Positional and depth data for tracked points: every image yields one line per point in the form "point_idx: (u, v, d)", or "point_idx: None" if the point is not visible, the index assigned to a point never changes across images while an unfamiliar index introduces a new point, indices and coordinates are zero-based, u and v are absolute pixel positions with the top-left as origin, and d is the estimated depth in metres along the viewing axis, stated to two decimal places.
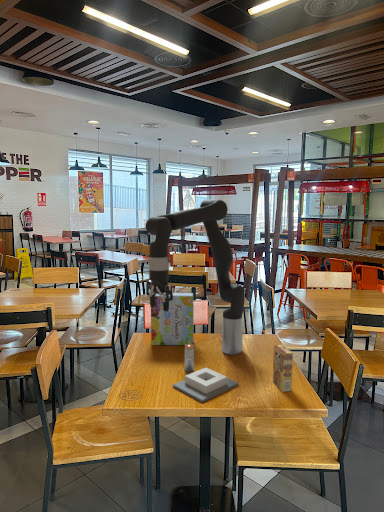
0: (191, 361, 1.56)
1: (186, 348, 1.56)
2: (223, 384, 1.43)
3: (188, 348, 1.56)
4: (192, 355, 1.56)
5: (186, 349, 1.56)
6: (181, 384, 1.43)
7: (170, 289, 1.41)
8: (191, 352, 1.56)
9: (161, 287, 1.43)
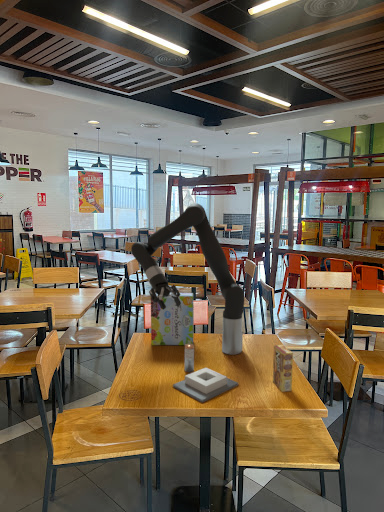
0: (191, 361, 1.56)
1: (186, 348, 1.56)
2: (223, 384, 1.43)
3: (188, 348, 1.56)
4: (192, 355, 1.56)
5: (186, 349, 1.56)
6: (181, 384, 1.43)
7: (151, 292, 1.63)
8: (191, 352, 1.56)
9: None
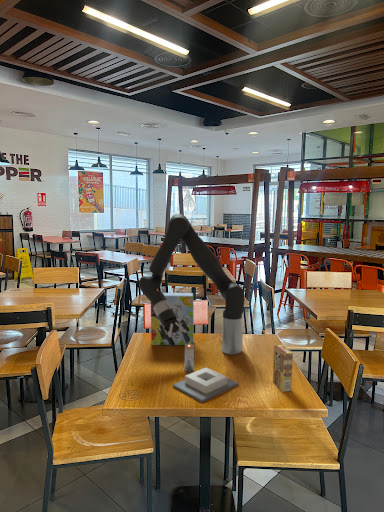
0: (191, 361, 1.56)
1: (186, 348, 1.56)
2: (223, 384, 1.43)
3: (188, 348, 1.56)
4: (192, 355, 1.56)
5: (186, 349, 1.56)
6: (181, 384, 1.43)
7: (160, 329, 1.60)
8: (191, 352, 1.56)
9: None
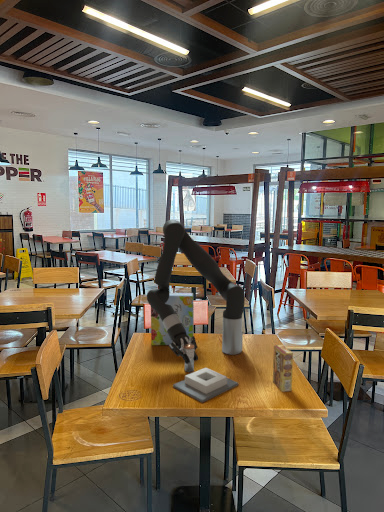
0: (191, 361, 1.56)
1: (186, 348, 1.56)
2: (223, 384, 1.43)
3: (188, 348, 1.56)
4: (192, 355, 1.56)
5: (186, 349, 1.56)
6: (181, 384, 1.43)
7: (172, 347, 1.56)
8: (191, 352, 1.56)
9: None
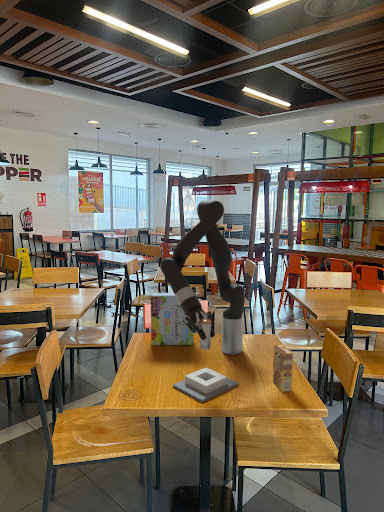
0: (208, 337, 1.41)
1: (202, 323, 1.40)
2: (223, 384, 1.43)
3: (204, 323, 1.40)
4: (209, 331, 1.41)
5: (202, 324, 1.40)
6: (181, 384, 1.43)
7: (186, 321, 1.40)
8: (208, 327, 1.40)
9: None
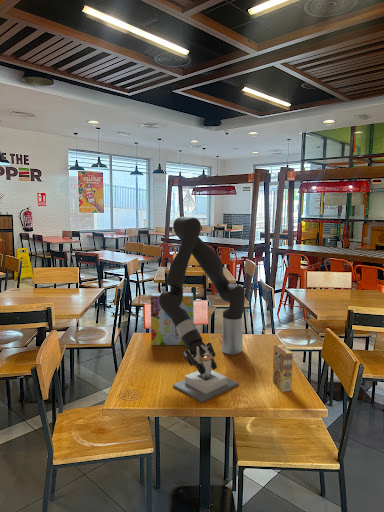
0: (208, 374, 1.42)
1: (203, 359, 1.42)
2: (223, 384, 1.43)
3: (205, 360, 1.41)
4: (209, 367, 1.42)
5: (203, 361, 1.42)
6: (181, 384, 1.43)
7: (186, 355, 1.41)
8: (208, 363, 1.42)
9: None
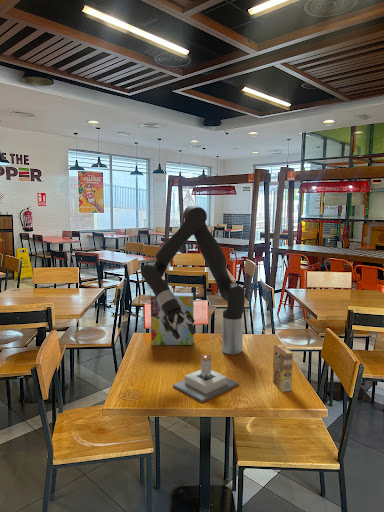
0: (208, 374, 1.42)
1: (203, 359, 1.42)
2: (223, 384, 1.43)
3: (205, 359, 1.41)
4: (209, 367, 1.42)
5: (203, 361, 1.42)
6: (181, 384, 1.43)
7: (163, 320, 1.50)
8: (208, 363, 1.42)
9: None
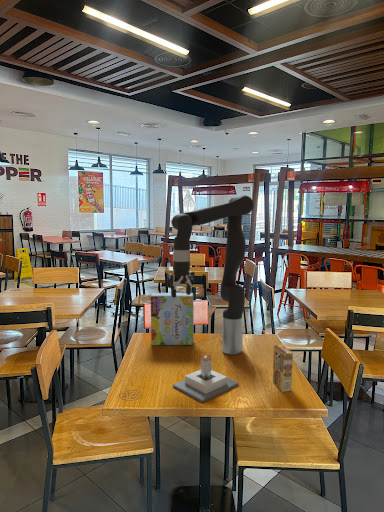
0: (208, 374, 1.42)
1: (203, 359, 1.42)
2: (223, 384, 1.43)
3: (205, 359, 1.41)
4: (209, 367, 1.42)
5: (203, 361, 1.42)
6: (181, 384, 1.43)
7: (169, 278, 1.59)
8: (208, 363, 1.42)
9: None
